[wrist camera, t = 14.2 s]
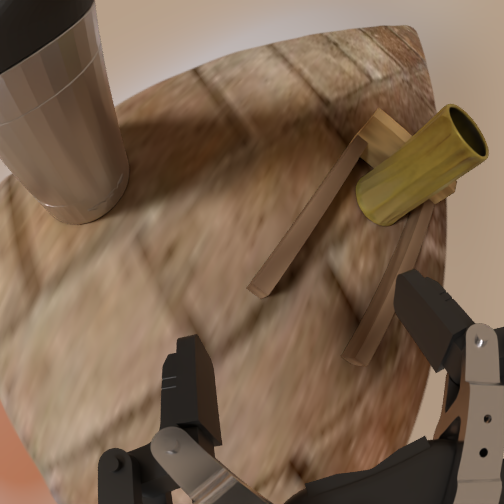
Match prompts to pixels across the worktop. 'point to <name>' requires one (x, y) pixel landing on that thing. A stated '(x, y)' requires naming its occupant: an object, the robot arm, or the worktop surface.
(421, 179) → the vase
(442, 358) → the robot arm
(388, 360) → the worktop surface
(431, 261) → the worktop surface
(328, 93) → the worktop surface
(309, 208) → the track
